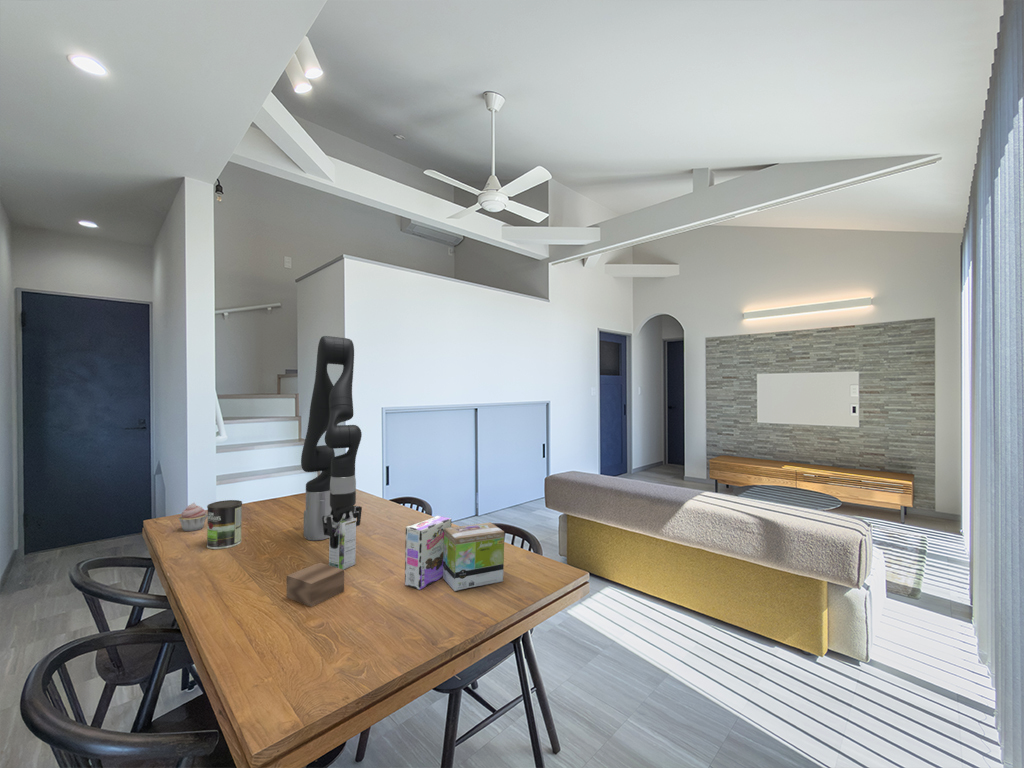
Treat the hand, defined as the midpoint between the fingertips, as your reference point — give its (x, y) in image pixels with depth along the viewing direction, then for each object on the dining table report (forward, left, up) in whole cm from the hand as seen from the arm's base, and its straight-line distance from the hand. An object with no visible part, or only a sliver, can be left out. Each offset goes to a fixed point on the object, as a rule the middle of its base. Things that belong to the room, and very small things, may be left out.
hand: (342, 544), depth 139 cm
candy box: (+29, +4, -7) cm, 30 cm away
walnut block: (+8, -17, -7) cm, 20 cm away
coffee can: (-51, -4, -7) cm, 52 cm away
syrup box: (0, 0, -7) cm, 7 cm away
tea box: (+41, +9, -7) cm, 43 cm away
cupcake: (-78, +1, -7) cm, 78 cm away
